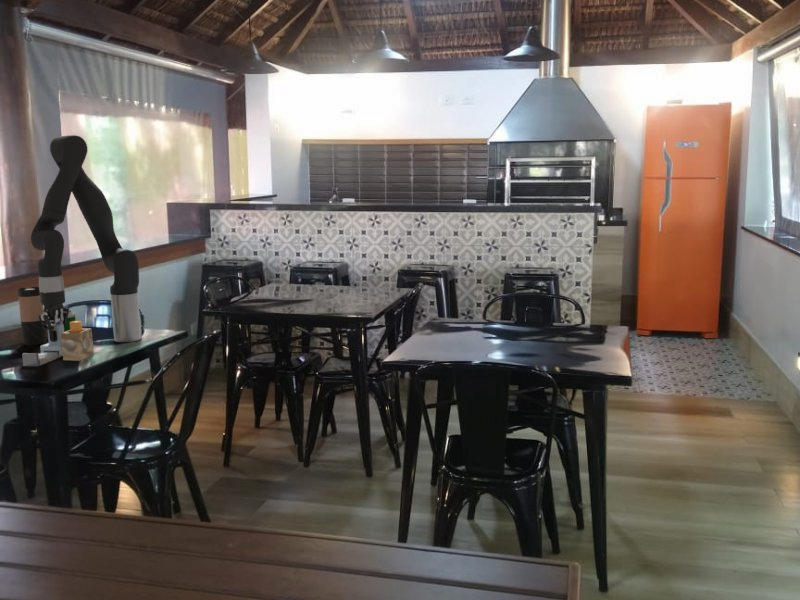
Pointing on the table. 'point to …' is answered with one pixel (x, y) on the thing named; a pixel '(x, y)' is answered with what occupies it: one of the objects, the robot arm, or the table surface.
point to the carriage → (54, 345)
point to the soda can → (69, 320)
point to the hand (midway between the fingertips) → (56, 340)
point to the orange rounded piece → (76, 326)
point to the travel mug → (31, 316)
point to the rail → (39, 358)
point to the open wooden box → (77, 344)
